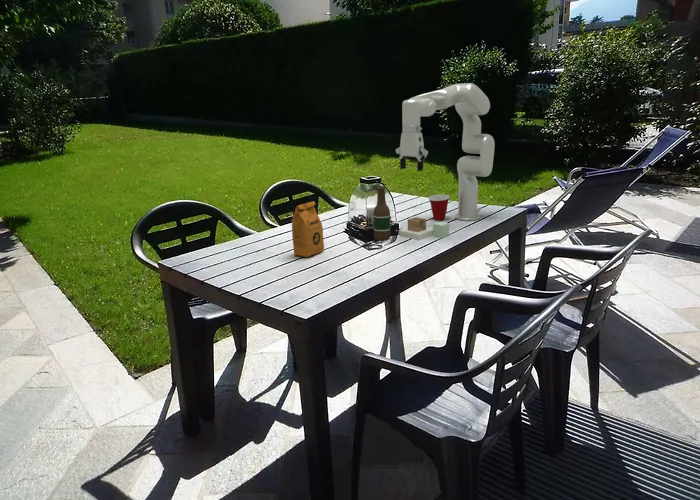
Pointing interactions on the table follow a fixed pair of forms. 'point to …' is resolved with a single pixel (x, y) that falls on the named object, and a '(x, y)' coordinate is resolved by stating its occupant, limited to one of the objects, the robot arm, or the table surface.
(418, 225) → the walnut block
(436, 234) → the sage block
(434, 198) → the plastic cup
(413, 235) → the base slab
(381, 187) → the beer bottle
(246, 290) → the table surface
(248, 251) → the table surface
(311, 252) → the coffee package
